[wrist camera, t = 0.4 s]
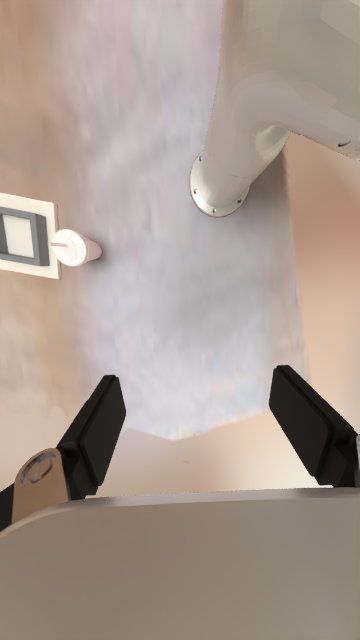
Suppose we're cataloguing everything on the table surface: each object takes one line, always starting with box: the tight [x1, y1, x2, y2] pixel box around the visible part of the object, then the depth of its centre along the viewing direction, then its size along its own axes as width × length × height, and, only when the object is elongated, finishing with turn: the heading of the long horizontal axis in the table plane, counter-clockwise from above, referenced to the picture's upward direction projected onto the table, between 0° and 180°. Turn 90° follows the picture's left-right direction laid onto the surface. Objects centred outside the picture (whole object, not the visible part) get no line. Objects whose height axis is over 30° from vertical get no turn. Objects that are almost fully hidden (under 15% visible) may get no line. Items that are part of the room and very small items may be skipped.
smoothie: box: [48, 229, 102, 266], centre depth 34 cm, size 6×6×14 cm
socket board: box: [0, 193, 61, 279], centre depth 37 cm, size 16×14×4 cm
